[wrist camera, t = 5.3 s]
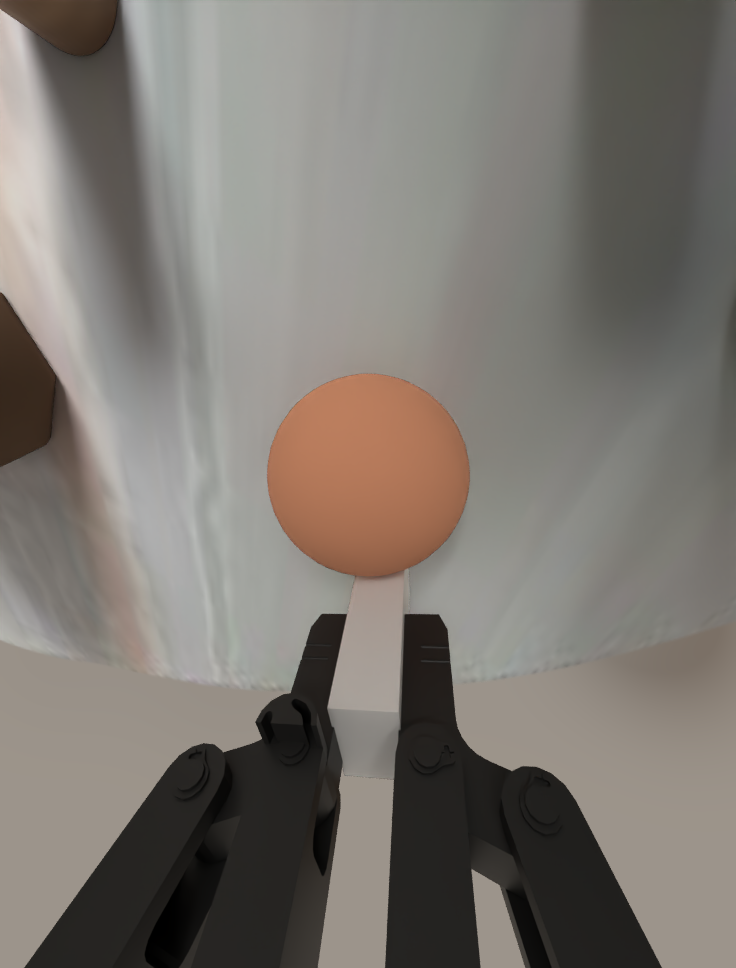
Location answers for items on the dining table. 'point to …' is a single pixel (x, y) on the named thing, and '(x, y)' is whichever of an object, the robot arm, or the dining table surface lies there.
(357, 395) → the ball
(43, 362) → the beer bottle
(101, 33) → the post
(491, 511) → the dining table surface
